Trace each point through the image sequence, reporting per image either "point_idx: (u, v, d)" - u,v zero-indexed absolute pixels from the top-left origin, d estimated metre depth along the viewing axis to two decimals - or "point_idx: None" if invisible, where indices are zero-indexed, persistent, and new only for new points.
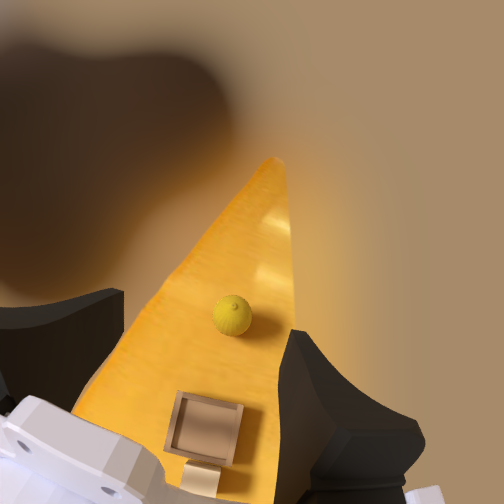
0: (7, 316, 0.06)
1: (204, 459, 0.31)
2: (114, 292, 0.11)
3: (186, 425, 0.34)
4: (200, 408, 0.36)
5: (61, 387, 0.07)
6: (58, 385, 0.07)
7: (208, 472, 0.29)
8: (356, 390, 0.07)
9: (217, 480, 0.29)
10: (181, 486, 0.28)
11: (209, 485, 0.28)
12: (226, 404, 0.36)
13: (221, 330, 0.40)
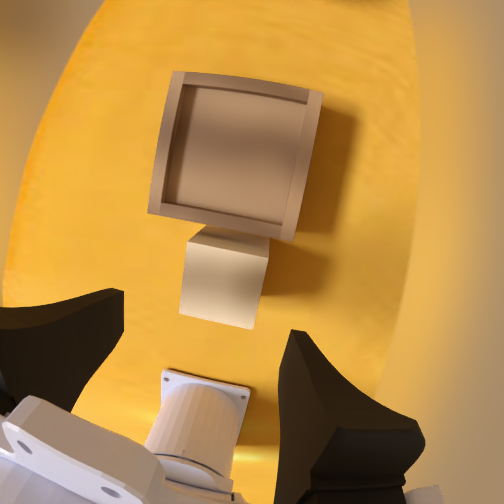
0: (8, 317, 0.06)
1: (233, 224, 0.18)
2: (114, 292, 0.11)
3: (194, 146, 0.17)
4: (224, 104, 0.16)
5: (61, 387, 0.07)
6: (58, 385, 0.07)
7: (241, 258, 0.16)
8: (356, 390, 0.07)
9: (260, 279, 0.17)
10: (183, 296, 0.17)
11: (243, 292, 0.17)
12: (283, 89, 0.15)
13: None
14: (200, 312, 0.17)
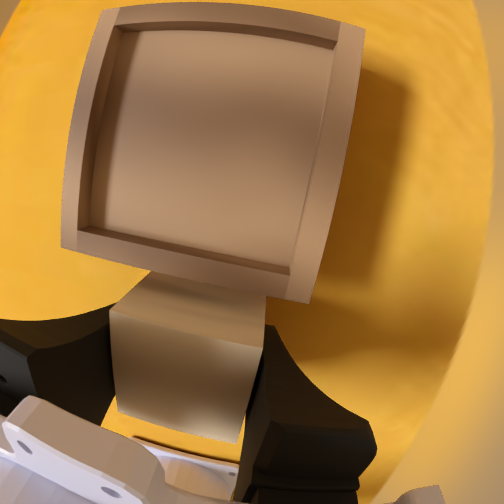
0: (38, 332, 0.06)
1: (198, 272, 0.09)
2: None
3: (131, 128, 0.09)
4: (184, 52, 0.08)
5: (93, 401, 0.07)
6: (90, 400, 0.07)
7: (208, 346, 0.08)
8: (311, 385, 0.07)
9: (248, 380, 0.08)
10: (119, 391, 0.09)
11: (217, 398, 0.08)
12: (291, 19, 0.07)
13: None
14: (149, 416, 0.09)
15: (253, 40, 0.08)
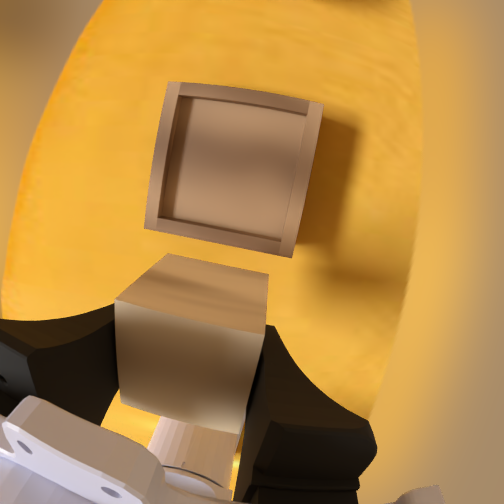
0: (38, 332, 0.06)
1: (231, 240, 0.17)
2: None
3: (191, 159, 0.17)
4: (221, 116, 0.16)
5: (93, 401, 0.07)
6: (90, 400, 0.07)
7: (212, 334, 0.08)
8: (311, 386, 0.07)
9: (250, 368, 0.08)
10: (122, 382, 0.09)
11: (220, 386, 0.09)
12: (282, 101, 0.15)
13: None
14: (152, 406, 0.09)
15: (261, 111, 0.16)
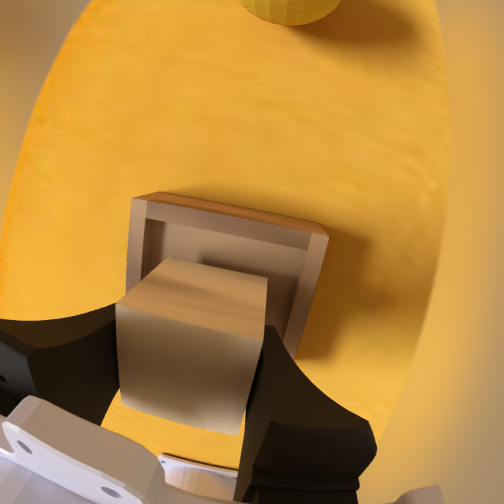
0: (38, 332, 0.06)
1: None
2: None
3: None
4: (201, 243, 0.14)
5: (93, 401, 0.07)
6: (90, 400, 0.07)
7: (211, 338, 0.08)
8: (311, 385, 0.07)
9: (249, 372, 0.09)
10: (123, 384, 0.09)
11: (219, 389, 0.09)
12: (276, 233, 0.13)
13: (255, 2, 0.09)
14: (152, 408, 0.09)
15: (249, 239, 0.14)
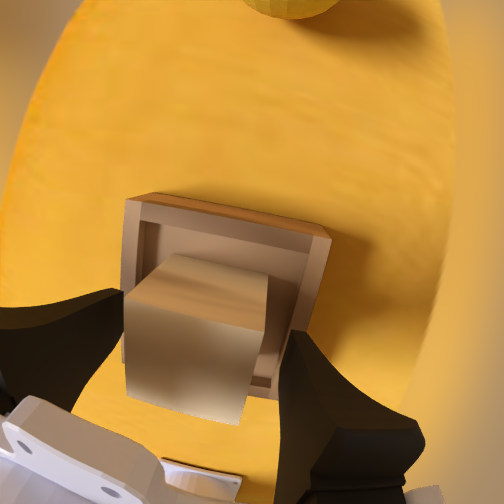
0: (8, 317, 0.06)
1: None
2: (114, 292, 0.11)
3: None
4: (198, 246, 0.13)
5: (61, 387, 0.07)
6: (58, 385, 0.07)
7: (215, 330, 0.09)
8: (356, 390, 0.07)
9: (250, 363, 0.09)
10: (129, 376, 0.10)
11: (222, 380, 0.09)
12: (276, 236, 0.12)
13: None
14: (157, 399, 0.10)
15: (248, 242, 0.13)
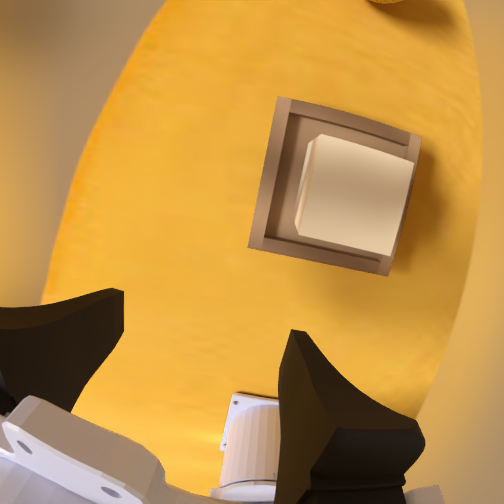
0: (8, 317, 0.06)
1: (337, 261, 0.18)
2: (114, 292, 0.11)
3: (298, 179, 0.17)
4: None
5: (61, 387, 0.07)
6: (58, 385, 0.07)
7: (385, 160, 0.12)
8: (356, 390, 0.07)
9: (405, 188, 0.12)
10: (308, 209, 0.13)
11: (385, 204, 0.12)
12: (388, 131, 0.15)
13: None
14: (329, 232, 0.13)
15: (366, 137, 0.16)
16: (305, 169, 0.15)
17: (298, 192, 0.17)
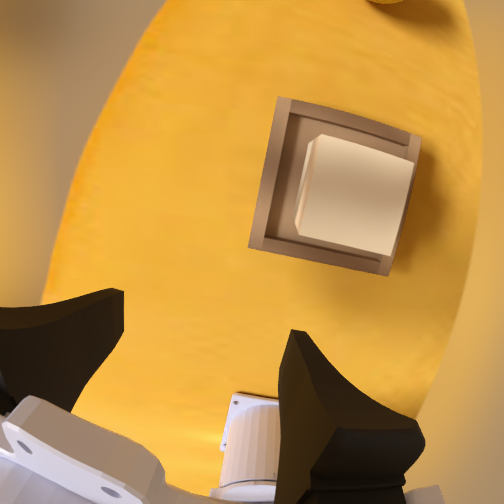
0: (8, 316, 0.06)
1: (337, 261, 0.18)
2: (114, 292, 0.11)
3: (298, 179, 0.17)
4: None
5: (61, 387, 0.07)
6: (58, 385, 0.07)
7: (385, 160, 0.12)
8: (356, 390, 0.07)
9: (405, 188, 0.12)
10: (309, 209, 0.13)
11: (385, 204, 0.12)
12: (388, 131, 0.15)
13: None
14: (329, 232, 0.13)
15: (366, 137, 0.16)
16: (305, 169, 0.15)
17: (298, 192, 0.17)
